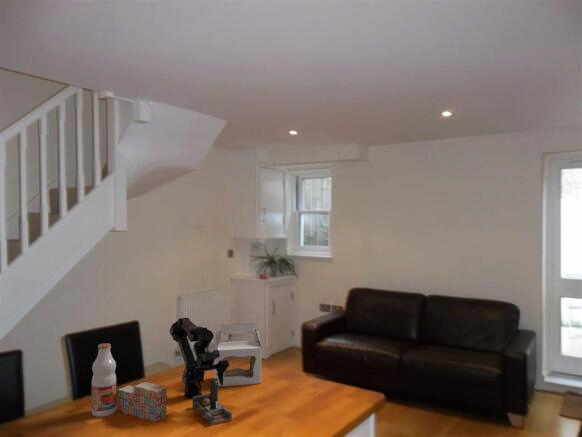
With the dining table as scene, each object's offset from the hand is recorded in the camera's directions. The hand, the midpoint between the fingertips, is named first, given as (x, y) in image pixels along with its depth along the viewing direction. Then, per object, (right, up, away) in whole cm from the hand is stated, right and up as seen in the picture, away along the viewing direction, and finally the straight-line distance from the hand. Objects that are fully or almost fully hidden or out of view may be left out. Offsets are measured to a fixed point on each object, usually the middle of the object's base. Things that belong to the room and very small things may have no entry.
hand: (211, 387), depth 192 cm
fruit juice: (-45, -11, 0) cm, 46 cm away
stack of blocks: (-29, -11, -1) cm, 31 cm away
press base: (0, -11, 0) cm, 11 cm away
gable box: (+6, -12, +40) cm, 42 cm away
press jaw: (+1, -9, -2) cm, 10 cm away
